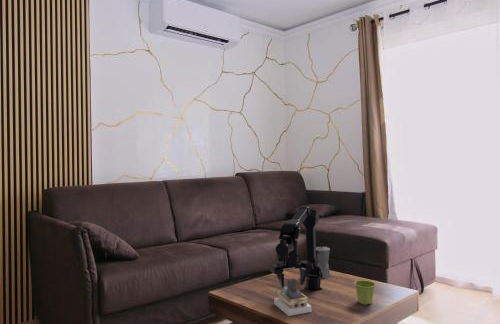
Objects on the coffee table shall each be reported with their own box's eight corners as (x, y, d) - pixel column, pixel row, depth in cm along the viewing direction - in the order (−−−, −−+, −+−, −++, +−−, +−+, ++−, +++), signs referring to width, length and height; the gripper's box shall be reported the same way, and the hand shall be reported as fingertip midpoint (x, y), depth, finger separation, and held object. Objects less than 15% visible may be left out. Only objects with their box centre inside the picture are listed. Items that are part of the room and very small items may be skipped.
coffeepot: (319, 271, 233) (318, 240, 232) (334, 273, 228) (334, 241, 227) (307, 278, 220) (307, 245, 219) (324, 281, 215) (323, 247, 214)
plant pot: (377, 300, 186) (377, 281, 186) (374, 307, 177) (374, 287, 177) (356, 297, 190) (356, 279, 190) (352, 304, 181) (352, 285, 181)
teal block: (291, 292, 184) (291, 285, 184) (294, 294, 181) (294, 287, 181) (283, 293, 183) (283, 287, 183) (286, 295, 180) (286, 289, 180)
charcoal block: (298, 297, 178) (297, 290, 178) (301, 299, 175) (301, 292, 175) (289, 298, 177) (289, 291, 177) (292, 300, 174) (292, 293, 174)
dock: (295, 300, 188) (295, 294, 188) (311, 311, 174) (311, 306, 174) (274, 303, 184) (274, 298, 184) (288, 315, 170) (288, 310, 170)
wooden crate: (294, 295, 187) (294, 274, 187) (308, 305, 175) (308, 282, 174) (276, 298, 184) (276, 276, 184) (289, 308, 171) (289, 285, 171)
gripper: (301, 245, 189) (302, 278, 190) (264, 249, 183) (265, 283, 183) (313, 250, 179) (314, 285, 179) (274, 255, 173) (275, 291, 173)
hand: (292, 286), depth 179 cm, fingers open, 9 cm apart
